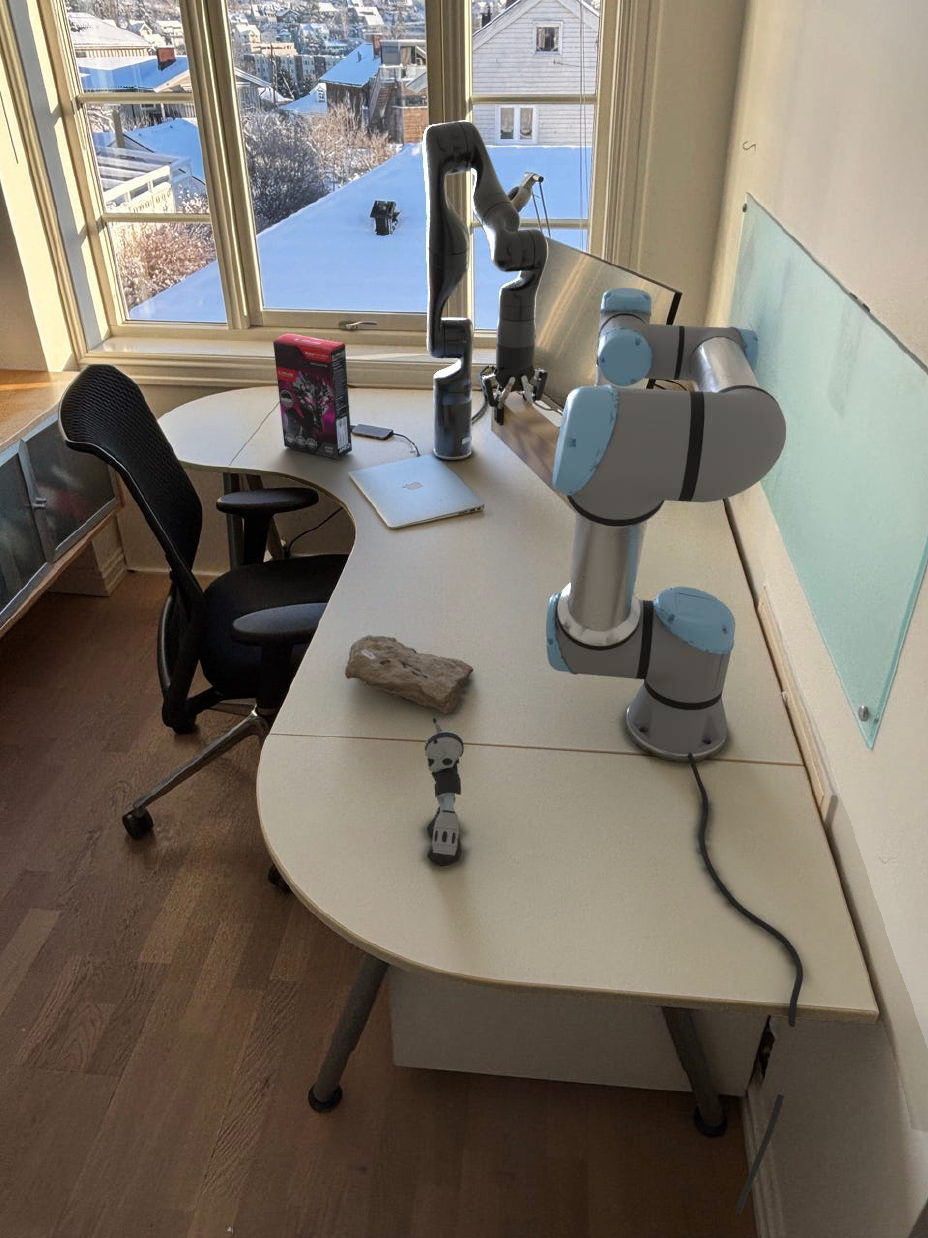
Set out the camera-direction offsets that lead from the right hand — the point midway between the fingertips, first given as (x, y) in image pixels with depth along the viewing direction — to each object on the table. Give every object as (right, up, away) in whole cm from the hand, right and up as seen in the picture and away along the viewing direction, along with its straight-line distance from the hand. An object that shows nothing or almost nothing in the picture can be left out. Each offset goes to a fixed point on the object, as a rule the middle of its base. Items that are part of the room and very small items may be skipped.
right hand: (603, 521), depth 159 cm
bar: (-7, +10, +16) cm, 20 cm away
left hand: (-14, +23, +30) cm, 40 cm away
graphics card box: (-61, +26, +72) cm, 98 cm away
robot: (-27, -47, -35) cm, 65 cm away
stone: (-34, -28, -7) cm, 44 cm away
